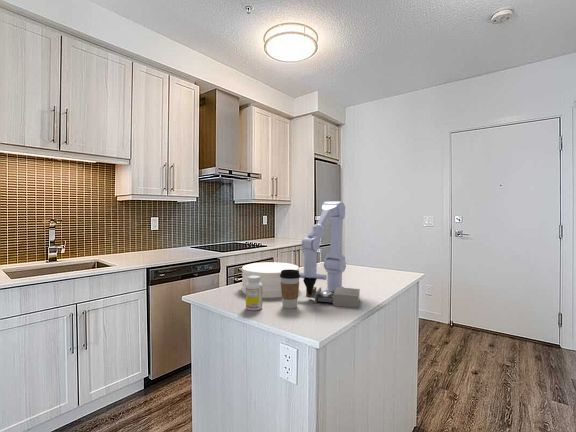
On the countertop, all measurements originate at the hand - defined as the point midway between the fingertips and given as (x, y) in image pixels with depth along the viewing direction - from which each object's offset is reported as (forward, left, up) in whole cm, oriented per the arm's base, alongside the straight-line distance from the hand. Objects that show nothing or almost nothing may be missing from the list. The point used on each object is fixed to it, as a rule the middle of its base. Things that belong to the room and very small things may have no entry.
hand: (309, 294), depth 139 cm
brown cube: (-6, -1, -2) cm, 7 cm away
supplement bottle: (+20, -19, -2) cm, 27 cm away
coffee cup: (+13, -6, -2) cm, 14 cm away
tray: (0, +8, -2) cm, 8 cm away
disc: (0, +7, 0) cm, 7 cm away
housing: (0, +16, -2) cm, 16 cm away
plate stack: (-10, -22, -2) cm, 25 cm away
